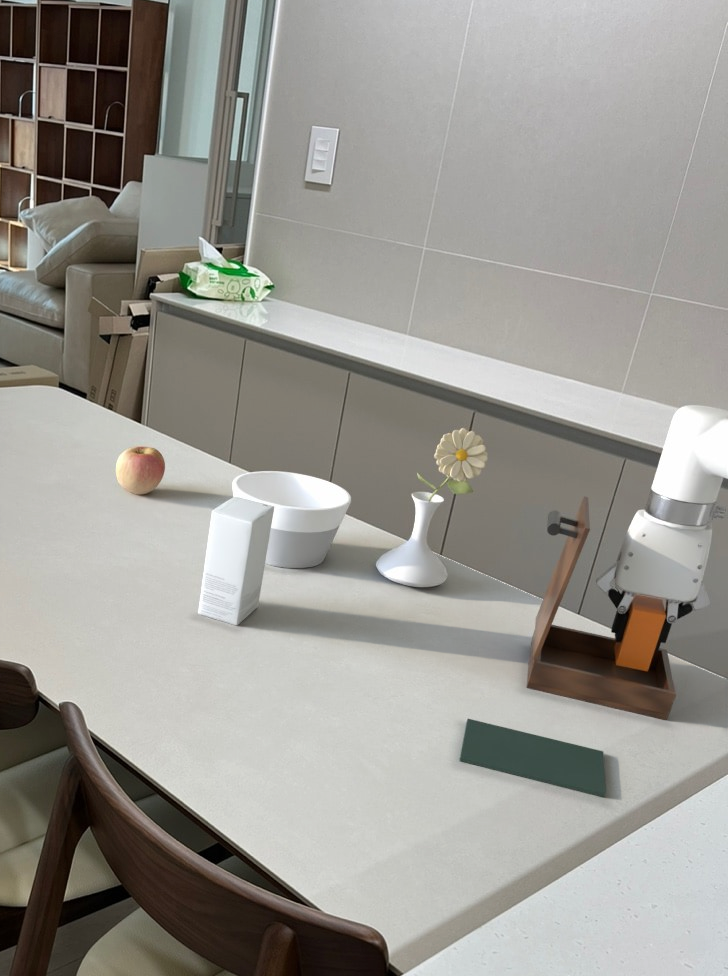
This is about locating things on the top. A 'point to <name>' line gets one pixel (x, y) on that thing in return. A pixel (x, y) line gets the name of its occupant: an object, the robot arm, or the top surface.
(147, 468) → the apple
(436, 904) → the top surface
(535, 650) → the lid
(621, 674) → the chest
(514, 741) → the mat
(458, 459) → the flower in vase
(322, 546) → the bowl
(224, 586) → the cosmetic box
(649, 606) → the orange block
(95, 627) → the top surface
